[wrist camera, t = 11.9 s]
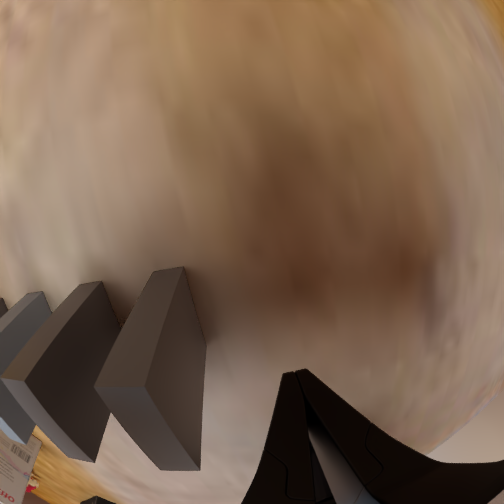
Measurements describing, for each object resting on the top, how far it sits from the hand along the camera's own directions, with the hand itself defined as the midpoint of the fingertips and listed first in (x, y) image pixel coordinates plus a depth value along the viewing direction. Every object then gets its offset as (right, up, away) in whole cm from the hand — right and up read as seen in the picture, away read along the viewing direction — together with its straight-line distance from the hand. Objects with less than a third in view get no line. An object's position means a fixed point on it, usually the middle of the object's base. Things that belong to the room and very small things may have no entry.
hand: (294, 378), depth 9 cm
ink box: (-31, -17, +10) cm, 36 cm away
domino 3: (-5, +1, +6) cm, 8 cm away
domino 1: (-15, -1, +5) cm, 16 cm away
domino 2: (-10, 0, +5) cm, 11 cm away
